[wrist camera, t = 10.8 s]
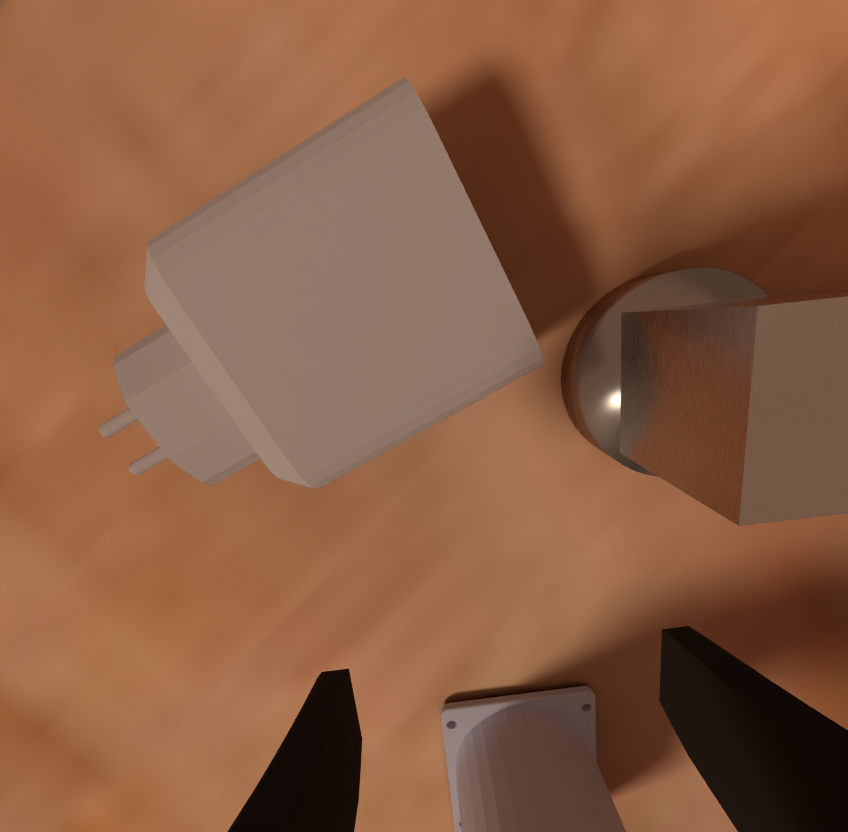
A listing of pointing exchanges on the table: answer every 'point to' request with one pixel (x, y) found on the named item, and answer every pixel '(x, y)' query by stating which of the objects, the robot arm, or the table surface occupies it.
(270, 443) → the charger
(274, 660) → the table surface
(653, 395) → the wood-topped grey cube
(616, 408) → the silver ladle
